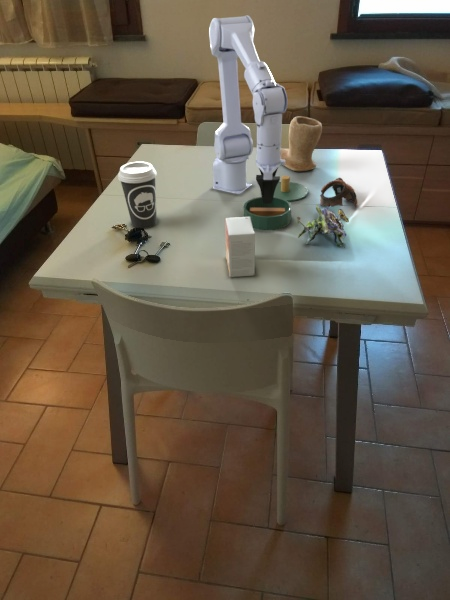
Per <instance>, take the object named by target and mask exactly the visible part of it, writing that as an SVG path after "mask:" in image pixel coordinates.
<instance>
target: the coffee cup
mask: <svg viewBox="0 0 450 600" xmlns="http://www.w3.org/2000/svg"><path fill="white" fill-rule="evenodd" d="M157 176H158V173H157V171H156V169H155V167H154V166H153V164H151V162H147V161H133V162H128V163H125V164H123V165H121V166H120V168H119V171H118V174H117V179H118V181H120V184H121V187H122V191H123V195H124V199H125V202H126V207H127V211H128V215H129V219H130V223H131V226H132V227H134V228H135V229H148V228H149V229H150V228H151V227H154V226H155V225H156V224H157V223H158V222H157V221H158V218H157V217H158V215H157V194H156V177H157ZM139 227H140V228H139Z"/></svg>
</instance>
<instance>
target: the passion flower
mask: <svg viewBox="0 0 450 600" xmlns="http://www.w3.org/2000/svg"><path fill="white" fill-rule="evenodd" d="M315 210H316V211H317V213H318V217H317V219H314V220H312V222H311V221H308V222H307V223H306V225H304V223H302V222H301V217H300V216H297V217H296V223H297V224H300V225H301V226H303V230H302V231H301V232H300V233H299V234H298V237H297V238H298V239H300V238H301V237H302V236H303V235H304V234H305V233H308V236H307V241H306V243H305V245H306V246H307V245H308V244H309V243H310V242H312V241H314V240H315V238H316V236H317V235H318V234H319V233H320V232H321V234H322V235H331V234H333V239H334V244H335V245H336V246H337V247H338V248H342V246H344V245H345V242H344V241H343V240H344V239H345V238H346V236H347V233H346V232H345V229H344V224H343V222H345V223H350V220H349V218H348V217H347V216H346V215H347V214H346V213H344V210H343V209H342V208H339V209H338V216H337V215H336V213H334V211H332V210H331V209H329V207H326V208H325V207H324V208H322V209H321V207H319V204H317V205H316V206H315ZM341 220H342V221H343V222H341ZM311 231H313V233H312V232H311Z"/></svg>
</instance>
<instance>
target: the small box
mask: <svg viewBox="0 0 450 600" xmlns="http://www.w3.org/2000/svg"><path fill="white" fill-rule="evenodd" d="M224 222H225V223H224V225H225V226H224V227H225V229H224V230H225V258H226V263H227V268H228V269H227V270H228V275H229V278H237V277H251V276H255V271H256V269H255V268H256V267H255V266H256V265H255V264H256V263H255V261H256V260H255V259H256V256H255V255H256V232H255V229H254V228H253V226H252V223H251V218H250V217H243V216H237V217H235V216H234V217H225V218H224Z"/></svg>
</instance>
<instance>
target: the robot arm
mask: <svg viewBox="0 0 450 600" xmlns="http://www.w3.org/2000/svg"><path fill="white" fill-rule="evenodd" d="M208 34H209V35H208V37H209V45H210V51H211V55H212V56H213V57H215V58H216V59H217V63H218V65H217V66H218V73H219V74H218V75H219V88H220V99H221V108H222V119H223V122H222V124H221V125H220V126H219V128H217V130H215V132H214V145H213V147H214V153H215V156H216V157H215V159H214V161H213V164H212V182H213V187H212V189H214V190H218V191H222V192H227V193H232V194H236V195H240V194H242V193H243V192H245V191H246V190H248V189H249V188H250V187H251V186H253V184H252V183H249V182H247V172H248V171H247V160H249V159H250V158H249V157H250V156H251V155H252V153H253V151H254V142H253V141H254V140H253V139H252V133H251V129H250V128H249V127H248V126H247V125H245V124H244V123H243V122H242V114H241V113H242V112H241V99H240V85H239V84H240V83H239V73H238V72H239V71H238V58H239V60H240V62H241V64H242V65H243V67H244V68H245V69H244V73H243V77H244V80H245V82H246V84H247V86H248V88H249V91H250V93H251V96H252V109H253V113H254V122H255V124H256V160H255V165H256V167H257V168H258V170H259V172H260V174H255V180H256V183H257V184H258V186H259V190H260V195H261V197H262V200H263V203H268V204H271V203H272V201H273V196H274V192H275V188H276V186H277V184H278V182H280V181H281V177H280V176H277V171H278V169H279V168H280V166H284V165H285V160H284V159H281V150H282V128H283V127H282V126H283V114H284V113H286V111H287V110H288V102H289V101H288V93H287V91H286V89H285V87H284V86H283V85H280V83H277V82H276V81H275V79H274V77H273V74H272V72H271V71H270V69H269V67H268V65H267V63H266V62H265V61H263V60H260V58H259V54H258V52H257V49H256V47H255V44H254V39H255V38H254V35H255V26H254V22H253V19H252V18H251V16H250V15H248V14H247V15H244V16H231V17H221V18H220V17H219V18H218V17H214V18H212V20H211V22H210V24H209V29H208Z"/></svg>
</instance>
